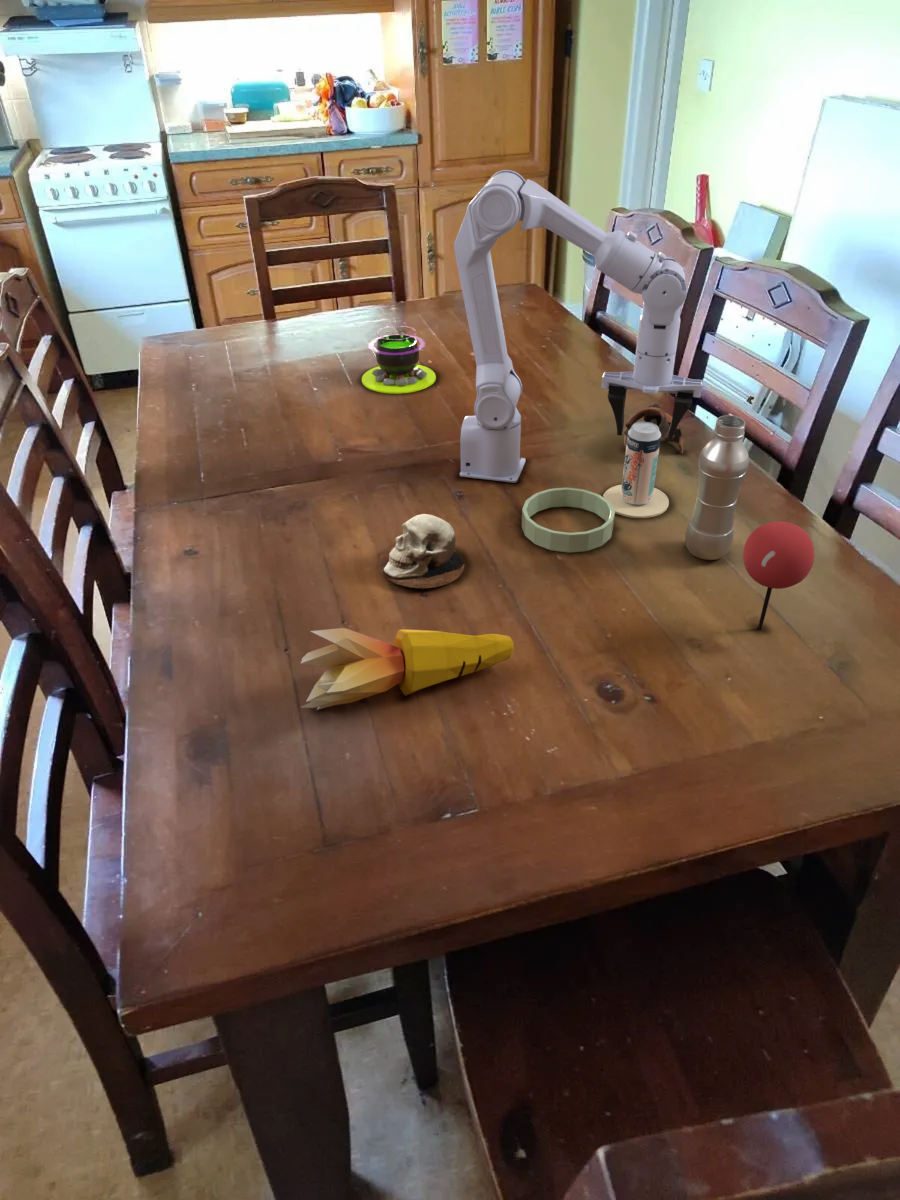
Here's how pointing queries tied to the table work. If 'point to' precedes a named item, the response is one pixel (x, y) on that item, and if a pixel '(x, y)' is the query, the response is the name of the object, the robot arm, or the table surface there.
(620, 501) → the coaster
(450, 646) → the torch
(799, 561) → the lollipop
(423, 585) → the skull
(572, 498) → the ring
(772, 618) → the table surface
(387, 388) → the toy cauldron
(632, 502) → the beer can
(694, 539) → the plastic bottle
